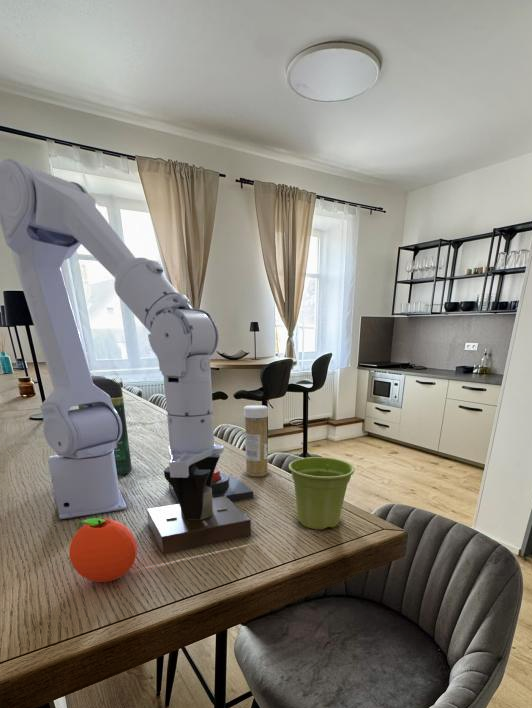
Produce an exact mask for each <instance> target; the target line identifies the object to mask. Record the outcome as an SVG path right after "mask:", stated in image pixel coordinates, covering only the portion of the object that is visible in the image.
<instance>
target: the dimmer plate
mask: <svg viewBox="0 0 532 708" xmlns="http://www.w3.org/2000/svg"><path fill="white" fill-rule="evenodd" d="M212 500H213V514H212V516H210V517H208V518H206V519H201V520H188V519H185V518H183V517H182V516H181V507H180V504H179V503H174V504H170V505H162V506H157V507H156V506H155V507H151V508H146V513H147V514H146V515H147V523H148V526H149V528H150V530H151V532H152V535H153V536H154V538H155V540H156V543H157V544H158V546H159V548H160V550H161V552H162V554H163V555H168V554H173V553H178V552H181V551H186V550H191V549H195V548H199V547H200V548H201V547H205V546H209V545H215V544H219V543H223V542H227V541H233V540H238V539H242V538H246V537H251V536H252V520H251V518H250V517H248V515H247V514H245V512H243V511H242V510H241V509H240V508H239V507H238V506H237V505H236V504H235V503H234V502H231V501H230V500H229V499H228V498H227V497H226V496H223V497H217V498H212Z"/></svg>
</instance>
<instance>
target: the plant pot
mask: <svg viewBox="0 0 532 708" xmlns="http://www.w3.org/2000/svg"><path fill="white" fill-rule="evenodd" d="M288 470H289V471H290V472H291V479H292V480H293V485H294V493H295V504H296V505H295V506H296V513H297V515H296V516H297V521H298V522H299V523H300V524H301V525H302V526H304V527H306V528H307V529H308V528H309V529H312V530H325V529H327V528H336V527H337V526H338V524H339V522H340V519H341V514H342V510H343V505H344V501H345V496H346V491H347V488H348V484H349V483H350V481H351V478H352V476H353V475H354V473H355V471H356V468H355V466H354V465H353V464H351V463H350V462H348V461H345V460H342V459H338V458H333V457H325V456H311V457H309V456H308V457H303V458H298V459H294V460H292V461H290V462H289V463H288Z"/></svg>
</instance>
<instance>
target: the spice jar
mask: <svg viewBox="0 0 532 708" xmlns="http://www.w3.org/2000/svg"><path fill="white" fill-rule="evenodd" d="M243 417H244V445H245V447H244V449H245V462H246V463H245V464H246V465H245V466H246V467H245V468H246V469H245V474H246V475H247V476H249V477H253V478H260V477H265V476H267V475H268V474H269V469H268V467H269V466H268V459H269V451H268V448H269V447H268V445H269V444H268V417H269V408H268V406H267V405H261V404H251V405H245V406H244V407H243Z"/></svg>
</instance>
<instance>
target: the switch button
mask: <svg viewBox="0 0 532 708" xmlns="http://www.w3.org/2000/svg"><path fill="white" fill-rule="evenodd" d="M220 473H221V471H220V469H219V468H217V467H215V470H214V474H213V479H212V482H215V481H218V480H220Z"/></svg>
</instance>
